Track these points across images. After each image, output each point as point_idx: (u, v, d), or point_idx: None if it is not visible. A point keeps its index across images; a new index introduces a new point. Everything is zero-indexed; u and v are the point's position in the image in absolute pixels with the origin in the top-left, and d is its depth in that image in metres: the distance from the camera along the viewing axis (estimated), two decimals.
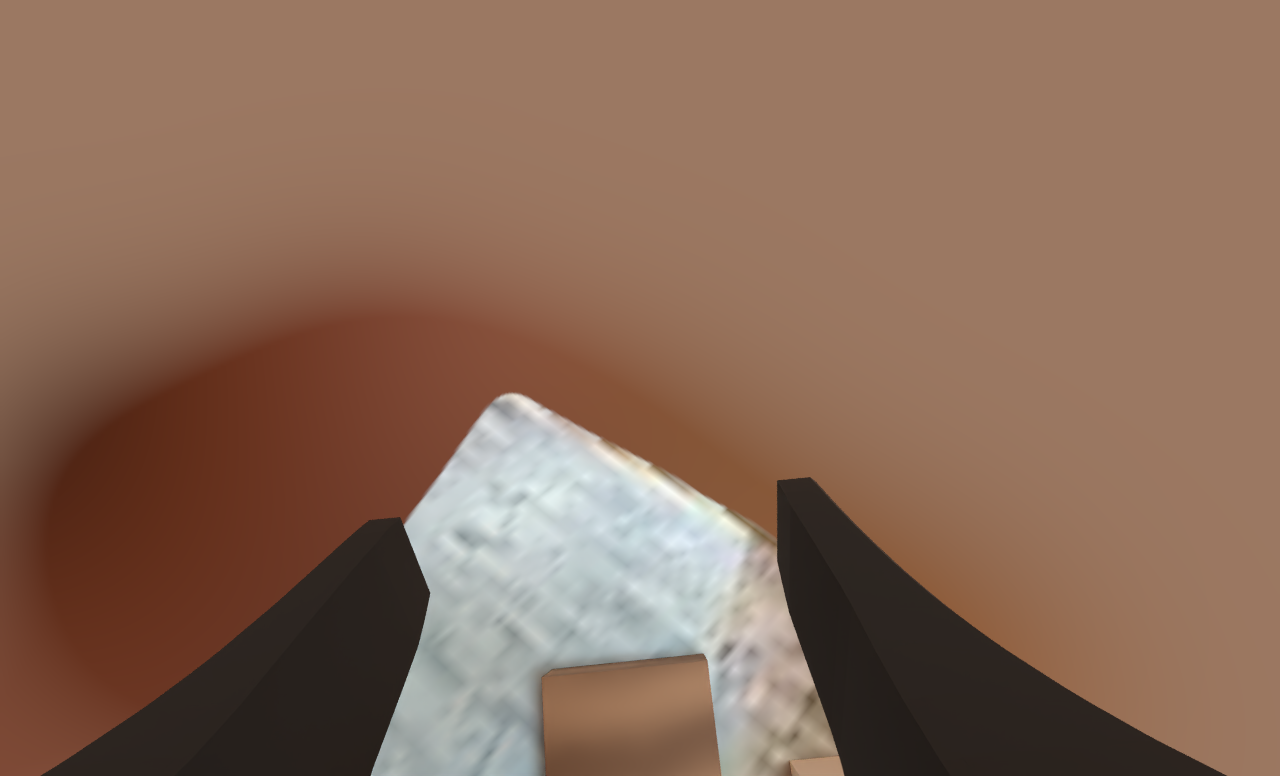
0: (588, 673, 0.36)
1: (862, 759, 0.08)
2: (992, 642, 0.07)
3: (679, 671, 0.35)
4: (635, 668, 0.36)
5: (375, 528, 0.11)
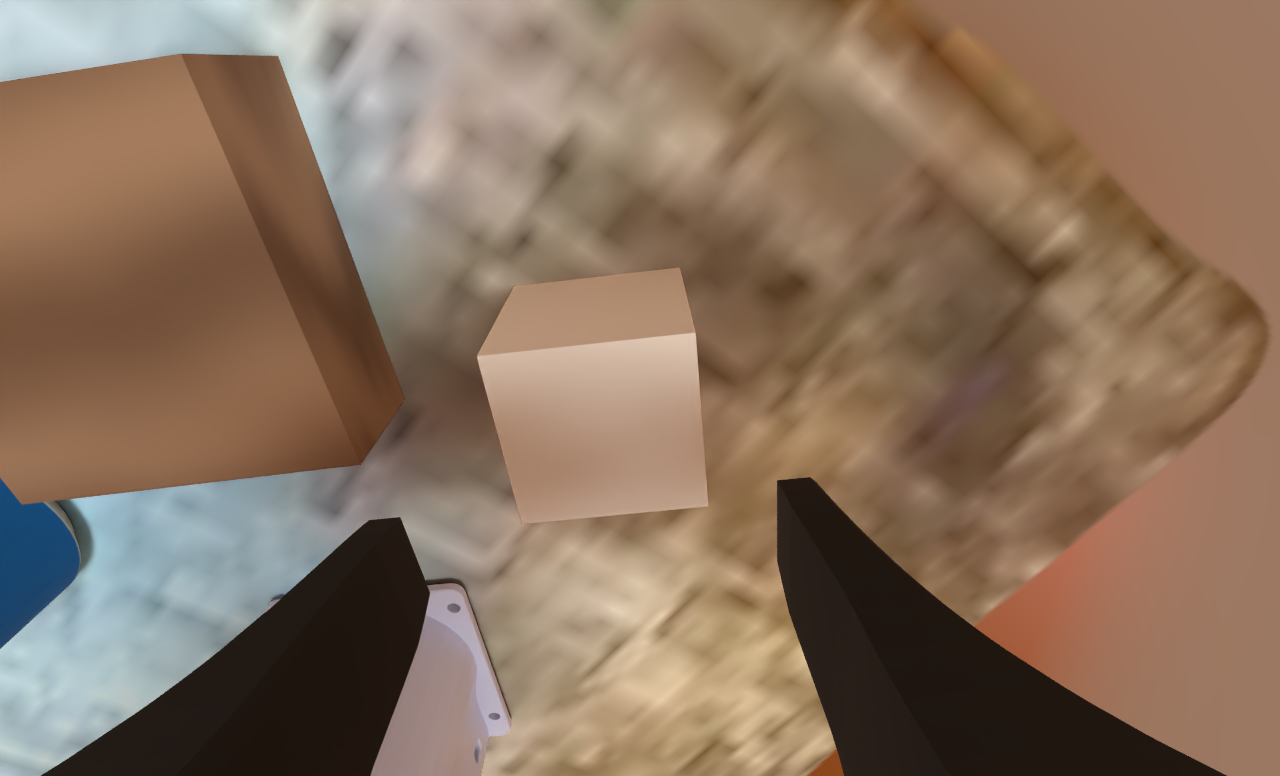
0: None
1: (862, 759, 0.08)
2: (992, 642, 0.07)
3: (110, 91, 0.12)
4: None
5: (375, 528, 0.11)
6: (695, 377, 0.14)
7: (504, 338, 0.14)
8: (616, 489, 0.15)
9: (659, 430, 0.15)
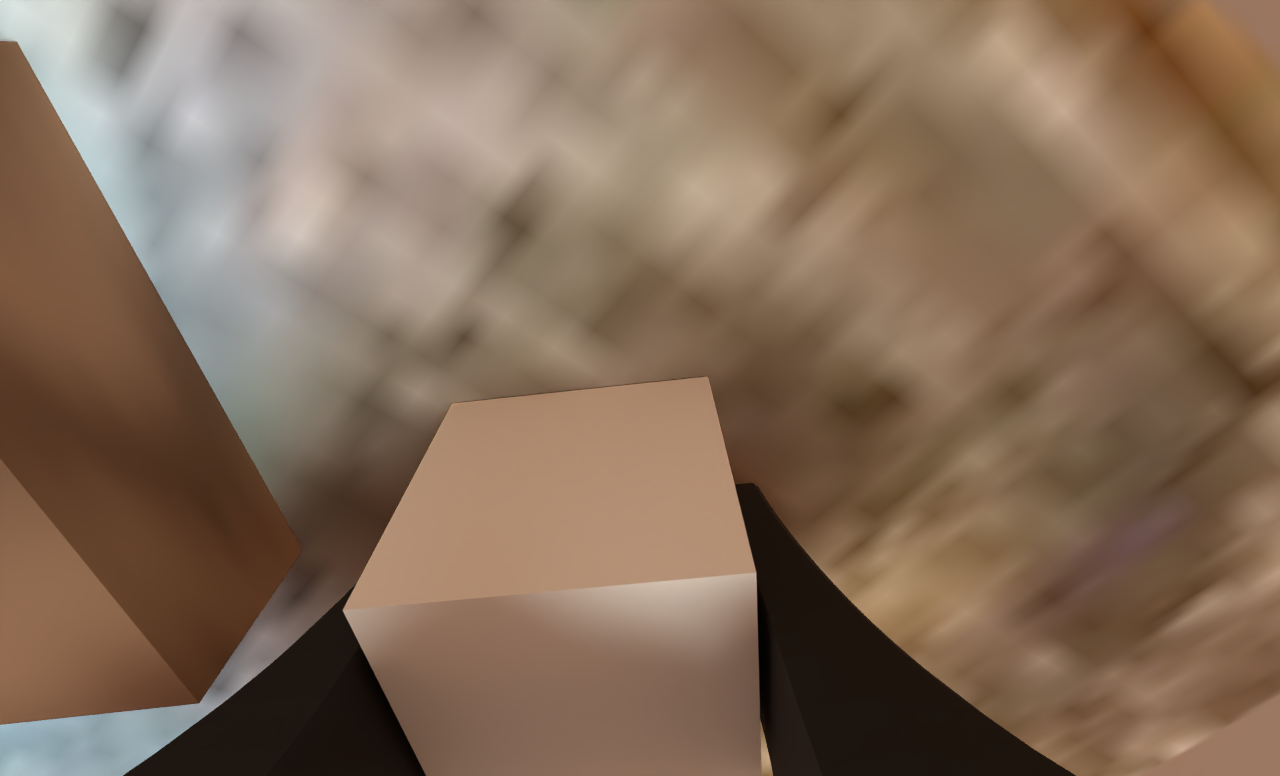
0: None
1: (782, 765, 0.08)
2: (898, 650, 0.07)
3: None
4: None
5: None
6: (751, 637, 0.08)
7: (406, 552, 0.08)
8: None
9: (684, 709, 0.08)
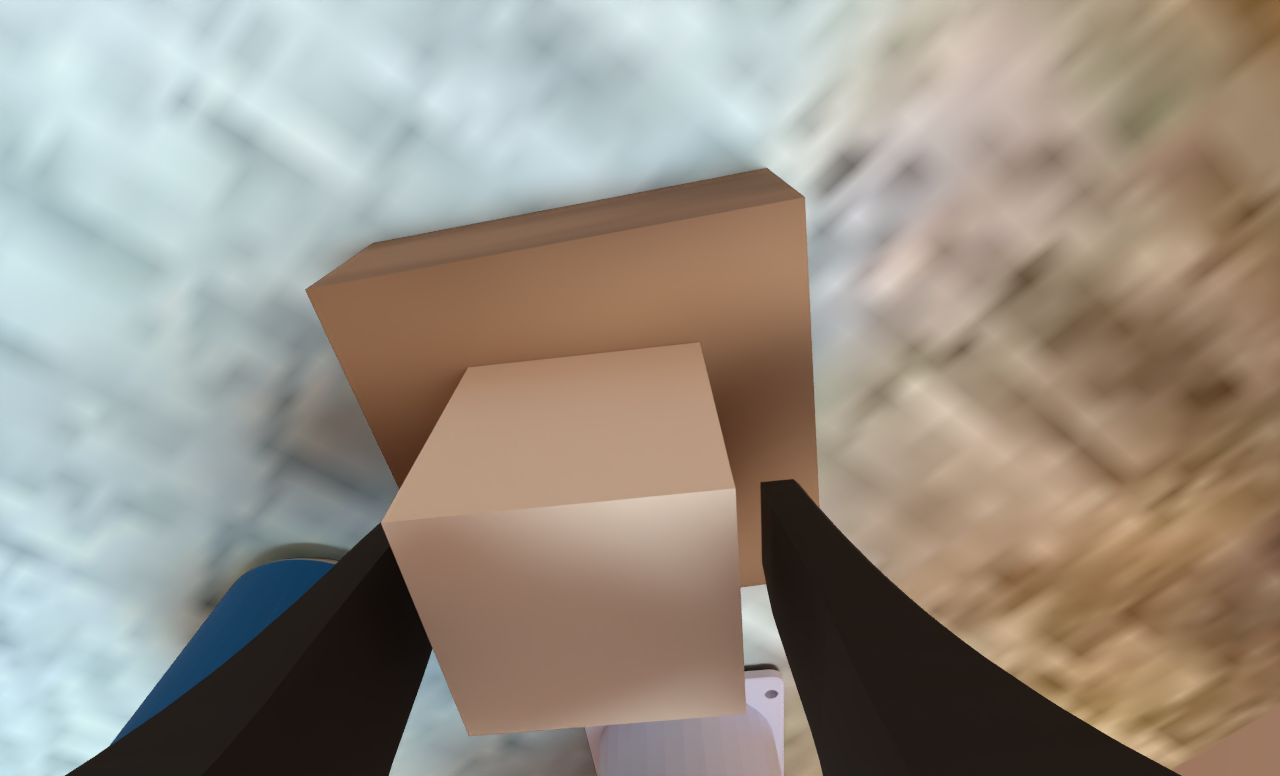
0: (440, 266, 0.12)
1: (838, 761, 0.08)
2: (964, 644, 0.07)
3: (716, 236, 0.12)
4: (580, 239, 0.12)
5: None
6: (733, 550, 0.09)
7: (433, 480, 0.09)
8: (608, 695, 0.10)
9: (675, 620, 0.09)
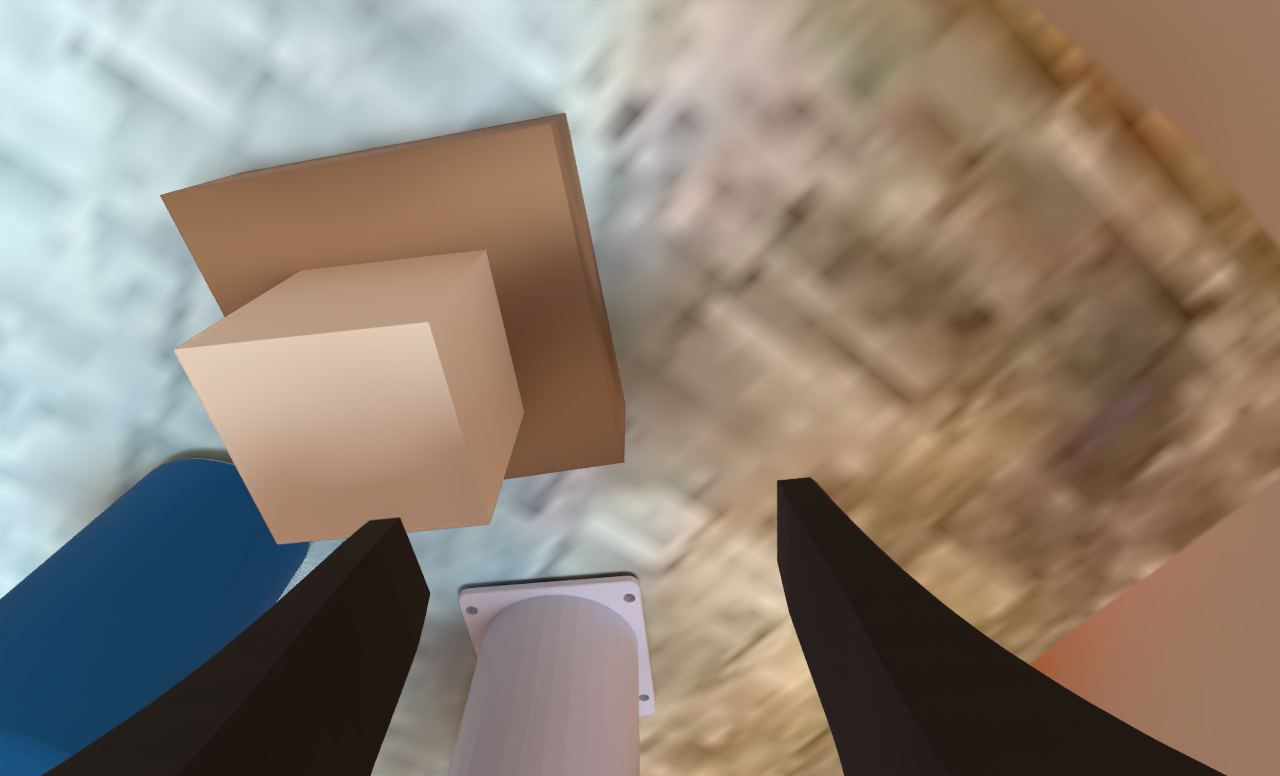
0: (267, 177, 0.15)
1: (862, 759, 0.08)
2: (992, 642, 0.07)
3: (485, 155, 0.14)
4: (378, 156, 0.15)
5: (375, 527, 0.11)
6: (440, 375, 0.12)
7: (225, 328, 0.12)
8: (377, 505, 0.13)
9: (412, 437, 0.12)
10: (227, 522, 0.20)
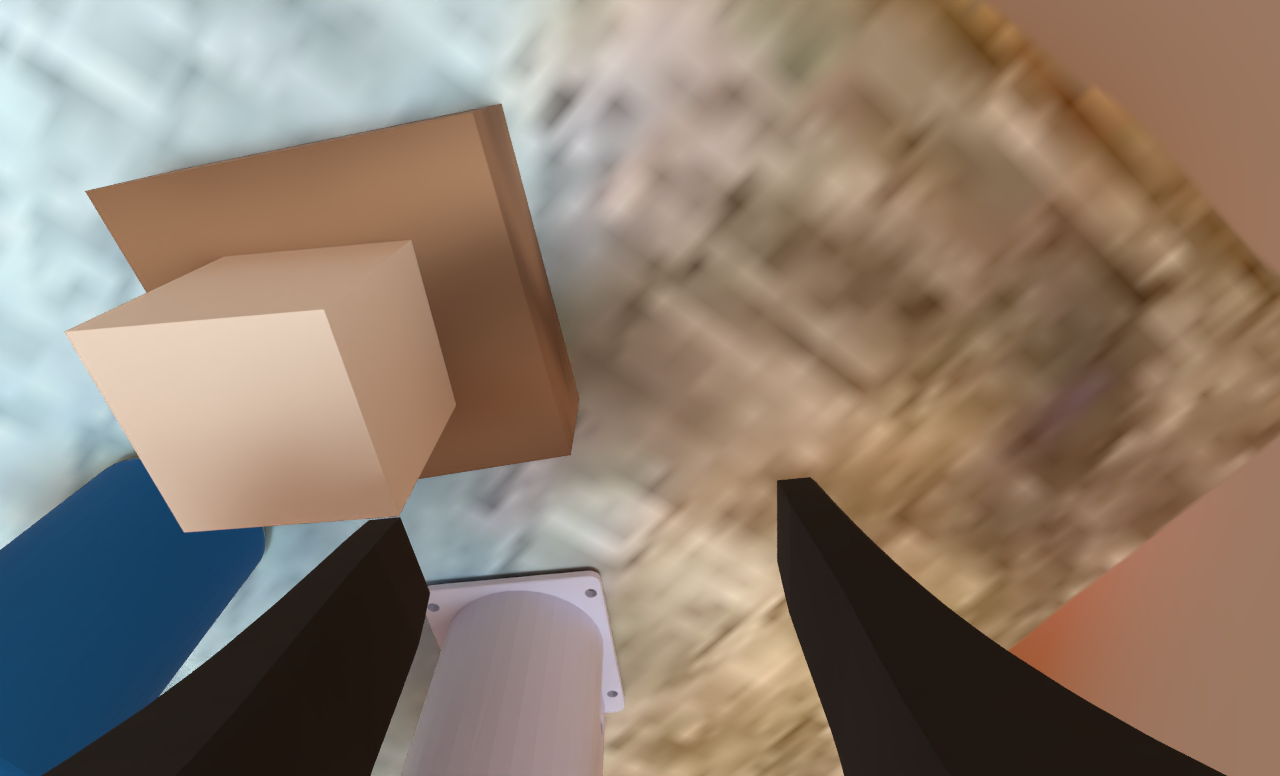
0: (192, 171, 0.15)
1: (862, 759, 0.08)
2: (992, 642, 0.07)
3: (409, 145, 0.14)
4: (302, 148, 0.14)
5: (375, 528, 0.11)
6: (339, 364, 0.12)
7: (124, 311, 0.12)
8: (284, 495, 0.13)
9: (315, 426, 0.12)
10: (174, 520, 0.20)
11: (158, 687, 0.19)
